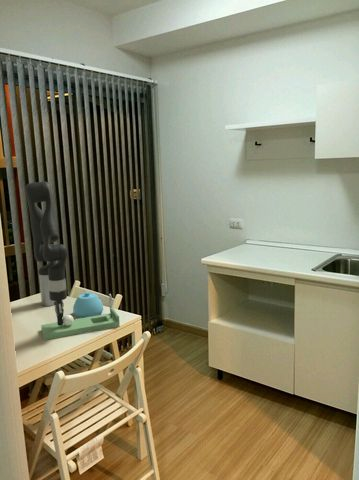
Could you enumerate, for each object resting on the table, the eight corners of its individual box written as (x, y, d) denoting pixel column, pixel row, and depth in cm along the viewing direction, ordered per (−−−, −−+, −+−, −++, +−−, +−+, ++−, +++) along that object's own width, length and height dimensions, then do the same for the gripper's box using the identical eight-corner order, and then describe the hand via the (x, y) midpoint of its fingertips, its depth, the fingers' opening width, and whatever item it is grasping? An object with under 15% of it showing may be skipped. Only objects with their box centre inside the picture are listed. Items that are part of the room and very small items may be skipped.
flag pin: (110, 317, 196) (108, 293, 194) (111, 317, 197) (110, 293, 194) (112, 320, 193) (110, 296, 191) (113, 319, 194) (112, 295, 191)
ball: (59, 317, 189) (68, 311, 190) (65, 325, 191) (74, 318, 192) (60, 321, 184) (70, 315, 185) (67, 329, 186) (76, 323, 187)
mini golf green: (41, 330, 190) (40, 319, 189) (113, 317, 203) (112, 308, 202) (44, 340, 179) (43, 329, 178) (119, 326, 192) (119, 316, 191)
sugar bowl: (68, 313, 210) (66, 292, 208) (94, 306, 220) (92, 285, 217) (82, 321, 199) (80, 299, 196) (109, 313, 208) (107, 292, 206)
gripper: (47, 285, 188) (50, 321, 191) (50, 293, 176) (53, 331, 179) (64, 283, 191) (66, 318, 194) (68, 291, 179) (70, 328, 182)
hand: (60, 324), depth 187 cm, fingers closed
